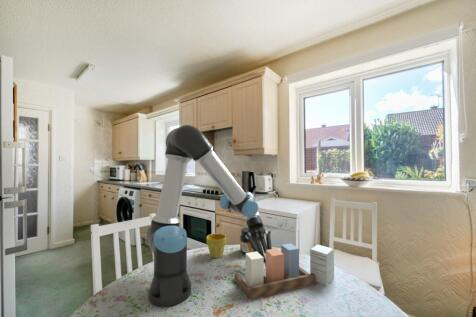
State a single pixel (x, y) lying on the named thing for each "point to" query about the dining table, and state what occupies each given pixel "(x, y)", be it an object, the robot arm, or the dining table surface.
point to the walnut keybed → (276, 285)
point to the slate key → (291, 260)
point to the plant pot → (216, 244)
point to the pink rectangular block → (274, 265)
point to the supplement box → (322, 263)
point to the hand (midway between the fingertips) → (269, 269)
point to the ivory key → (254, 269)
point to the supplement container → (245, 242)
